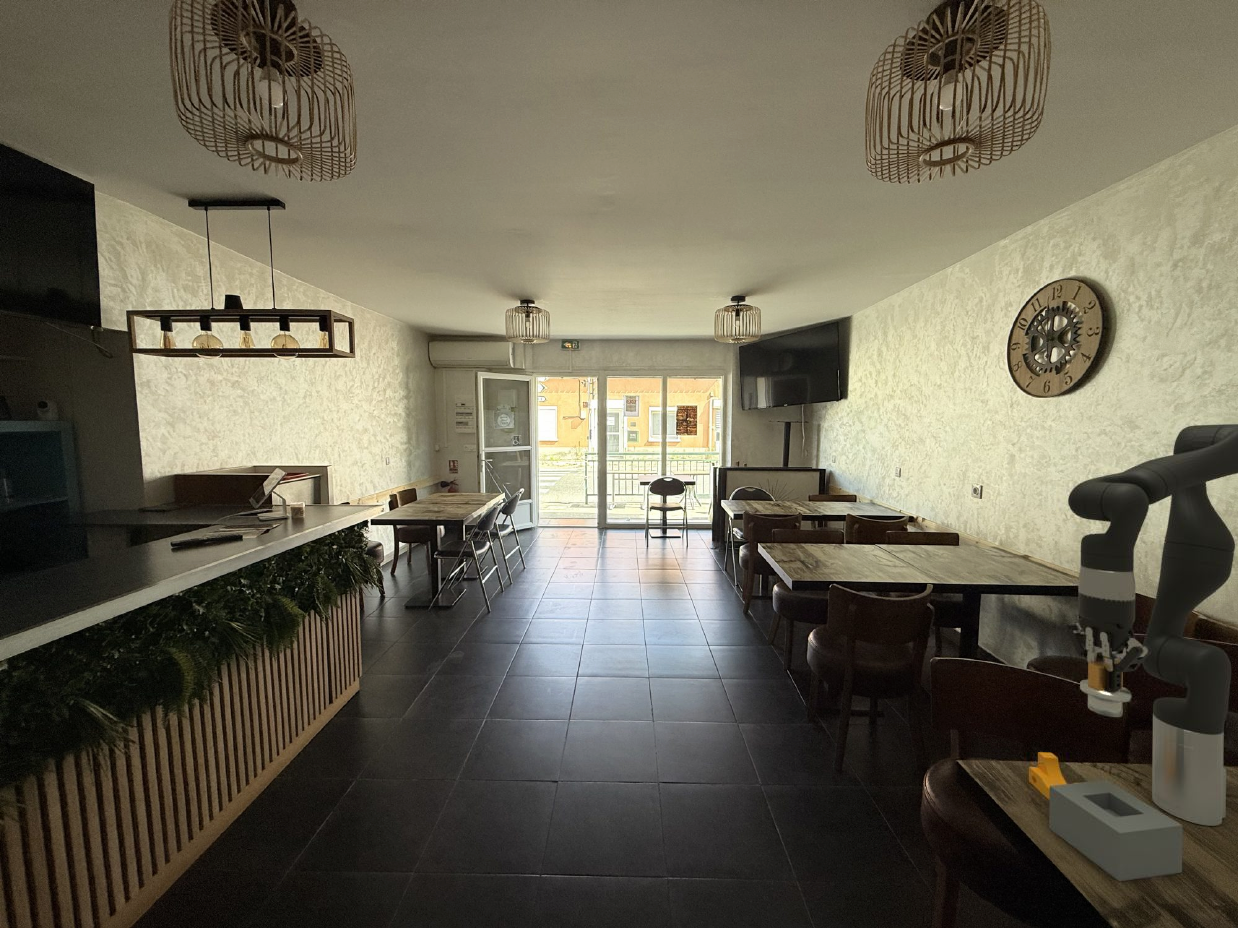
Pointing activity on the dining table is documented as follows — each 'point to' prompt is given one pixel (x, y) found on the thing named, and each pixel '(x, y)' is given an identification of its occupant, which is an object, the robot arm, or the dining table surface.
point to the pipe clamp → (1046, 773)
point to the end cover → (1103, 692)
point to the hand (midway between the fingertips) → (1105, 687)
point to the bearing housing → (1116, 830)
